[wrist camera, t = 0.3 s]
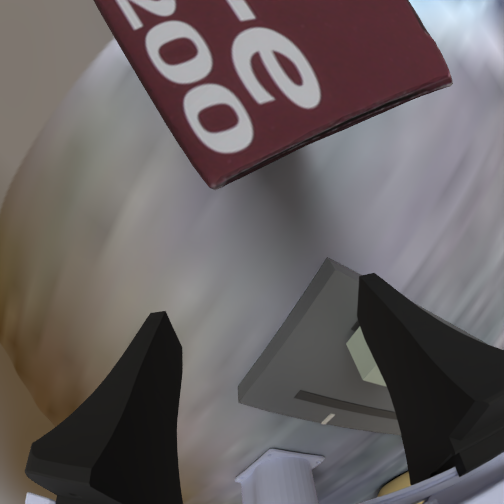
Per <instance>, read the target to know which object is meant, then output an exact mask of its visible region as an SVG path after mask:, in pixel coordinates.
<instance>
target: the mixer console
mask: <svg viewBox="0 0 504 504" xmlns="http://www.w3.org/2000/svg"><path fill="white" fill-rule="evenodd" d="M359 276H362V275H360V274H358V273H356V272H354V271H353V270H351V269H349V268H347V267H345V266H343V265H341V264H339V263H337V262H335V261H333V260H331V259H329V258H328V257H327V259H326V260H325V262H324V263H323V265H322V266H321V268H320V270H319V271H318V273H317V274H316V276H315V277H314V279H313V280H312V282H311V283H310V285H309V286H308V288H307V289H306V291H305V292H304V294H303V295H302V297H301V298H300V300H299V301H298V303H297V304H296V306H295V307H294V309H293V310H292V312H291V313H290V315H289V316H288V317H287V319H286V320H285V322H284V323H283V325H282V326H281V328H280V329H279V330H278V332H277V333H276V335H275V336H274V338H273V339H272V340H271V342H270V343H269V345H268V346H267V347H266V349H265V350H264V352H263V353H262V354H261V356H260V357H259V359H258V360H257V361H256V363H255V364H254V365H253V367H252V368H251V370H250V371H249V372H248V374H247V375H246V376H245V378H244V379H243V380H242V382H241V383H240V384H239V386H238V401H239V403H241V404H245V405H248V406H252V407H255V408H259V409H263V410H266V411H270V412H274V413H278V414H282V415H286V416H291V417H295V418H299V419H304V420H309V421H313V422H318V423H321V424H329V425H334V426H339V427H345V428H351V429H358V430H364V431H371V432H379V433H387V434H396V435H401V431H400V428H399V424H398V420H397V417H396V413H395V410H394V406H393V403H392V400H391V397H390V394H389V391H388V389H387V387H386V386H382V385H378V384H375V383H371V382H368V381H364V380H363V379H362V377H361V375H360V373H359V371H358V369H357V366H356V364H355V362H354V360H353V358H352V356H351V353H350V351H349V349H348V347H347V345H346V343H347V342H348V341H349V339H350V338H351V337H352V335H353V334H354V333H355V332H356V330H357V329H358V328H359V326H360V324H359V321H358V318H357V306H358V290H359ZM417 306H418V305H417ZM418 307H420V306H418ZM420 308H421V309H423V310H424V311H426V312H427V313H429V314H430V315H432V316H433V317H435V318H436V319H438V320H439V321H441V322H443V323H444V324H446V325H448V326H450V327H452V328H453V329H455V330H457V331H459V332H461V333H463V334H465V335H467V336H469V337H471V338H473V339H476V340H478V341H480V342H482V343H484V342H483V341H481V340H479V339H477V338H476V337H474V336H472V335H470V334H468V333H467V332H465V331H463V330H461V329H460V328H458V327H456V326H454V325H452V324H451V323H449V322H447V321H445V320H444V319H442V318H440V317H438V316H436V315H434V314H433V313H431V312H429V311H427V310H425V309H424V308H422V307H420ZM485 344H486V343H485ZM487 345H488V344H487Z"/></svg>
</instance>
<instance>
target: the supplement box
mask: <svg viewBox="0 0 504 504" xmlns="http://www.w3.org/2000/svg"><path fill="white" fill-rule="evenodd" d="M94 2H95V4H96V6H97V7H98V9H99V11H100V13H101V15H102V16H103V18H104V20H105V22H106V23H107V25H108V27H109V28H110V30H111V32H112V34H113V35H114V37H115V39H116V40H117V42H118V44H119V46H120V47H121V49H122V51H123V52H124V54H125V56H126V58H127V59H128V61H129V63H130V64H131V66H132V68H133V69H134V71H135V73H136V74H137V76H138V78H139V80H140V81H141V83H142V85H143V86H144V88H145V90H146V91H147V93H148V95H149V96H150V98H151V100H152V101H153V103H154V105H155V106H156V108H157V110H158V111H159V113H160V115H161V116H162V118H163V120H164V121H165V123H166V125H167V126H168V128H169V129H170V131H171V133H172V134H173V136H174V137H175V139H176V141H177V142H178V144H179V145H180V147H181V148H182V150H183V151H184V153H185V154H186V156H187V157H188V159H189V160H190V162H191V164H192V165H193V167H194V168H195V169H196V170H197V172H198V173H199V174H200V176H201V177H202V179H203V180H204V181H205V182H206V184H207V185H208V186H209V187H210V188H212V189H219V188H221V187H223V186H225V185H227V184H229V183H231V182H233V181H235V180H237V179H240V178H242V177H244V176H246V175H248V174H250V173H252V172H254V171H256V170H258V169H260V168H262V167H264V166H266V165H268V164H270V163H272V162H274V161H276V160H278V159H280V158H282V157H284V156H286V155H288V154H290V153H292V152H294V151H296V150H298V149H300V148H302V147H304V146H306V145H308V144H311V143H313V142H315V141H318V140H320V139H323V138H325V137H327V136H330V135H332V134H335V133H337V132H339V131H342V130H344V129H347V128H349V127H351V126H353V125H356V124H358V123H360V122H362V121H365V120H367V119H369V118H371V117H374V116H376V115H378V114H381V113H383V112H385V111H388V110H390V109H392V108H394V107H396V106H399V105H401V104H403V103H405V102H408V101H410V100H413V99H415V98H418V97H420V96H423V95H426V94H429V93H431V92H434V91H437V90H440V89H443V88H446V87H450V86H451V85H452V84H453V82H452V78H451V75H450V72H449V69H448V67H447V64H446V62H445V60H444V58H443V56H442V54H441V52H440V50H439V48H438V47H437V45H436V43H435V41H434V40H433V39H432V37H431V36H430V34H429V33H428V32H427V30H426V29H425V27H424V25H423V23H422V22H421V20H420V18H419V16H418V15H417V13H416V12H415V10H414V8H413V7H412V5H411V4H410V2H409V1H408V0H94Z"/></svg>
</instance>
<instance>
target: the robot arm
mask: <svg viewBox="0 0 504 504" xmlns="http://www.w3.org/2000/svg"><path fill="white" fill-rule="evenodd" d="M357 318H358V321H359V324H360V327H361V330H362V333H363V336H364V339H365V341H366V343H367V345H368V347H369V350H370V352H371V354H372V356H373V358H374V360H375V362H376V364H377V366H378V369H379V371H380V373H381V375H382V377H383V379H384V381H385V384H386V386H387V389H388V391H389V394H390V397H391V400H392V403H393V406H394V410H395V413H396V417H397V420H398V424H399V428H400V431H401V436H402V440H403V444H404V449H405V454H406V459H407V465H408V471H409V478H410V484H411V486H409V487H406V488H403V489H401V490H398V491H395V492H392V493H389V494H386V495H383V496H380V497H377V498H374V499H370V500H367V501H364V502H360V503H357V504H417V503H420V502H422V501H424V502H423V503H422V504H504V350H501V349H498V348H496V347H493V346H490V345H487V344H485V343H482V342H480V341H478V340H476V339H473V338H471V337H469V336H467V335H465V334H463V333H461V332H459V331H457V330H455V329H453V328H452V327H450V326H448V325H446V324H444V323H443V322H441V321H439V320H438V319H436V318H435V317H433V316H432V315H430V314H429V313H427V312H426V311H424V310H423V309H421V308H420V307H418V306H417V305H416V304H414V303H413V302H411V301H410V300H409V299H407V298H406V297H405V296H403V295H402V294H401V293H400V292H398V291H397V290H396V289H394V288H393V287H392V286H391V285H389V284H388V283H387V282H385V281H384V280H383V279H382V278H380V277H379V276H378V275H376V274H375V273H372V274H367V275H362V276H359V290H358V306H357ZM181 380H182V346H181V344H180V342H179V340H178V338H177V335H176V333H175V331H174V329H173V327H172V325H171V322H170V320H169V318H168V316H167V313H166V311H162V312H155V313H150V315H149V316H148V318H147V319H146V321H145V322H144V324H143V325H142V327H141V328H140V330H139V331H138V333H137V334H136V336H135V337H134V339H133V340H132V342H131V343H130V345H129V346H128V348H127V349H126V351H125V352H124V354H123V355H122V357H121V358H120V359H119V361H118V362H117V364H116V365H115V366H114V368H113V369H112V370H111V372H110V373H109V374H108V376H107V377H106V378H105V379H104V381H103V382H102V383H101V384H100V385H99V386H98V388H97V389H96V390H95V391H94V392H93V393H92V394H91V395H90V396H89V397H88V398H87V399H86V400H85V401H84V402H83V403H82V404H81V405H80V406H79V407H78V408H77V409H76V410H75V411H74V412H73V413H72V414H71V415H70V416H69V417H67V418H66V419H65V420H64V421H63V422H61V423H60V424H59V425H58V426H57V427H55V428H54V429H53V430H51V431H50V432H48V433H47V434H46V435H44V436H43V437H41V438H40V439H38V440H37V441H35V442H33V443H32V446H31V450H30V453H29V457H28V461H27V465H26V469H25V473H26V475H27V477H28V478H30V479H31V480H32V481H34V482H35V483H37V484H38V485H40V486H42V487H43V488H45V489H47V490H49V491H51V492H52V493H54V494H56V495H57V499H56V501H54V500H52V499H49V498H46V497H43V496H40V495H36V494H33V493H30V492H28V493H27V496H26V501H25V504H183V501H182V495H181V488H180V479H179V469H178V454H177V417H178V407H179V398H180V389H181ZM324 460H325V458H324V456H317V455H310V454H303V453H296V452H290V451H284V450H278V449H269V450H268V451H267V452H266V453H264V454H263V455H262V456H261V457H260V458H259V459H258V460H256V461H255V462H254V463H253V464H252V465H251V466H249V467H248V468H247V469H246V470H245V471H244V472H242V473H241V474H240V475H239V476H237V477H236V478H235V481H236V482H239V483H241V486H242V504H319V502H318V498H317V493H316V488H315V483H314V479H313V474H312V469H313V468H315V467H316V466H317V465H319V464H320V463H321V462H323V461H324Z"/></svg>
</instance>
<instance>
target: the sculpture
mask: <svg viewBox="0 0 504 504" xmlns="http://www.w3.org/2000/svg"><path fill="white" fill-rule="evenodd" d="M409 486H411V484H410V478H409V471H408V472H406V473H404V474H402V475H400V476H399V477H397V478H395V479H394V480H392V481H391V482H389V483H387V484H386V485H385V486H383V487H382V488H381V490H380V491H379V494H378V497H380V496H383V495H386V494H389V493H392V492H395V491H398V490H401V489H403V488H406V487H409ZM423 502H424V501H422V502H420V503H417V504H422V503H423Z"/></svg>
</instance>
